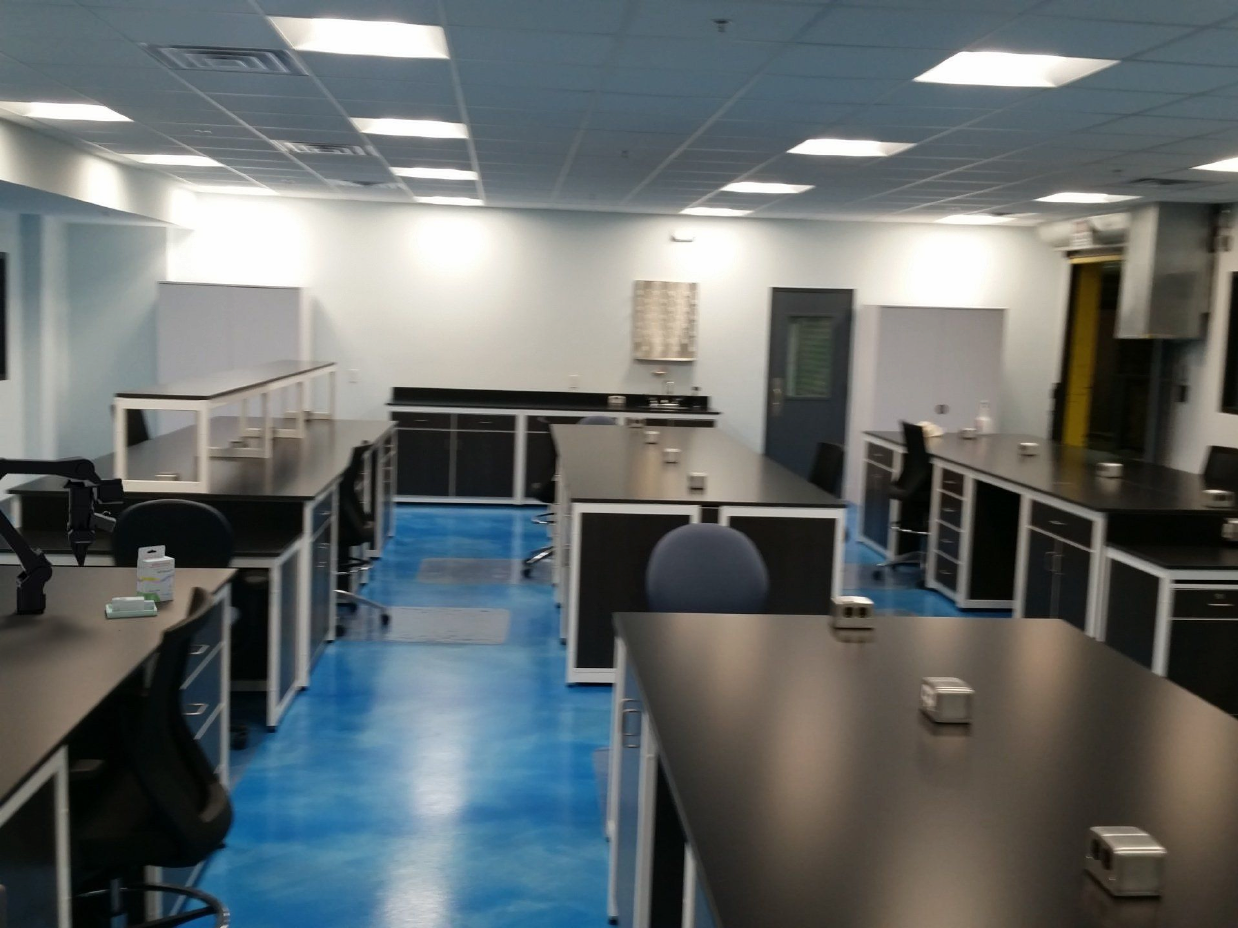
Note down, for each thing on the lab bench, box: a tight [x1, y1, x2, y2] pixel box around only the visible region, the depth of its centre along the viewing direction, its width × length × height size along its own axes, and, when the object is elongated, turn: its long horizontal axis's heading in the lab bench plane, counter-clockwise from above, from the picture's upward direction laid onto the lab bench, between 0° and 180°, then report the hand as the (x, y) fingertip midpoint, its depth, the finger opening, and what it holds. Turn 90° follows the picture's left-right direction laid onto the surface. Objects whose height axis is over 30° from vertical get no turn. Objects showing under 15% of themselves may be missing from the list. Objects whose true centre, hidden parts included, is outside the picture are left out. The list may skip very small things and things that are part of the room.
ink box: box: [136, 545, 175, 603], centre depth 326 cm, size 9×5×15 cm, turn 143°
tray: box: [105, 602, 158, 619], centre depth 312 cm, size 12×9×1 cm
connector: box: [111, 596, 155, 612], centre depth 311 cm, size 10×4×3 cm, turn 116°
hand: (80, 562), depth 313 cm, fingers open, 9 cm apart
